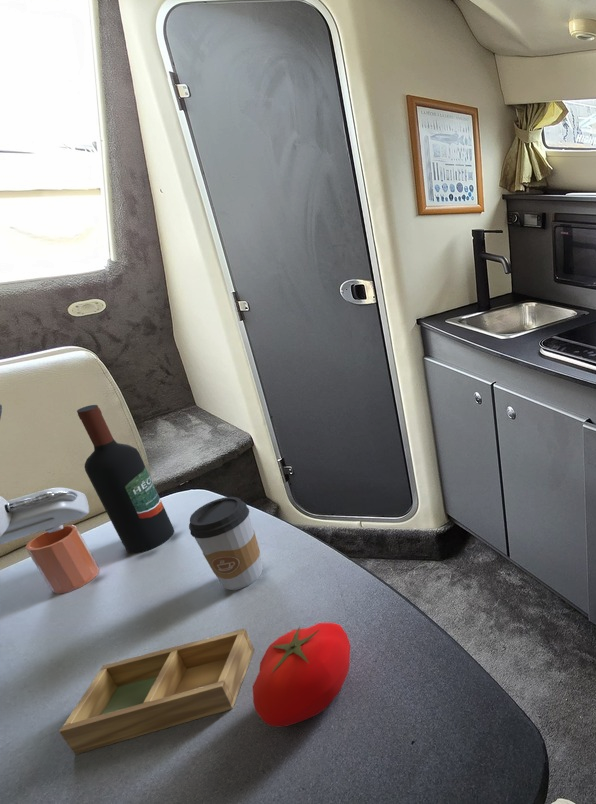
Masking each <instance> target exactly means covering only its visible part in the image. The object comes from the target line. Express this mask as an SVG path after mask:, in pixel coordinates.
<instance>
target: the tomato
mask: <svg viewBox="0 0 596 804" xmlns="http://www.w3.org/2000/svg"><path fill="white" fill-rule="evenodd" d="M350 657H351V642H350V640H349V637H348V634H347V632H345V630H344V628H343V627H342V625H341V624H339V623H336V622H318V623H316V624H314V625H312V626H309V627H305V628H301V627H300V625H299V626H298V628H296V629H295V628H294V629H293V630H290V631H289V632H286V633H285V634H282V635H281V636H279V637H278V638H277V639H275V640H274V641H273V642H272V643H271V644H270V645H268V647H267V649H266V650H265V653H264V654H263V656H262V658H261V660H260V663H259V670H258V673H257V676H256V678H255V680H254V682H253V685H252V700H253V701H252V702H253V707H254V710H255V712H256V713H257V715H258V716H259V717H260V719H261V720H262V721H263V722H264V723H265V724H266V725H268V726H270V727H280V728H283V727H287V726H291V725H292V726H293V725H295V724H297V723H298V724H299V723H300V722H303V721H307V720H308V719H311V718H313V717H316V716H317V715H319V714H320V713H321V712H323V711H324V710H326V709H327V708H328V707H329V706H330V705H331V703H332V702H333V701H334V699H335V698H336V697H337V696H338V695H339V694H340V692H341V690H342V687H343V685H344V683H345V681H346V679H347V677H348V674H349V668H350V661H351V660H350V659H351V658H350Z"/></svg>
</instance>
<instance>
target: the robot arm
mask: <svg viewBox="0 0 596 804" xmlns="http://www.w3.org/2000/svg"><path fill="white" fill-rule="evenodd" d="M2 412H3V405H2V404H0V420H1V419H2ZM89 513H90V505H89V502H88V498H87V495H86V494H85V493H83V492H82V491H79V490H76V489H72V488H69V487H68V488H67V487H52V488H46V489H43V490H39V491H36V492H33V493H29V494H26V495H22V496H19V497H16V498H12V499H8V500H6V499H5V498H4V497H3V496H1V495H0V546H1V545H4V544H7V543H10V542H13V541H17V540H20V539H22V538H26V537H28V536H32V535H34V534H38V533H42V532H43V531H44V532H49V533H52V532H55V531H58V530H61V529H63V525H66V524H68V523H70V522H74V521H77V520H80V519H83V518H85V517H86V516H88V515H89Z"/></svg>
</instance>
